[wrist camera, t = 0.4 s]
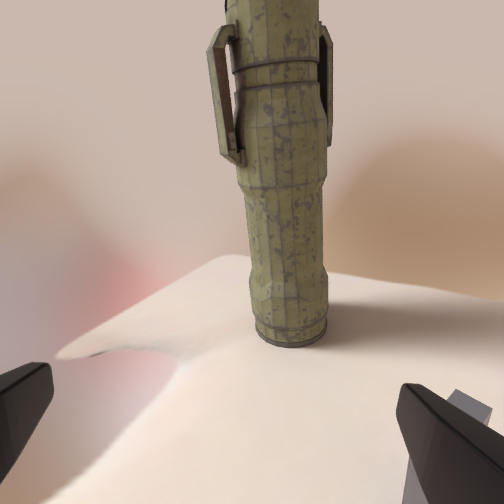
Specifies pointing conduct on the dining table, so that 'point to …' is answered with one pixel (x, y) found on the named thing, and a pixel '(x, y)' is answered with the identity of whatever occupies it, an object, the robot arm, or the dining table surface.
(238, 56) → the thermos
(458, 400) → the domino
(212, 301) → the dining table surface
